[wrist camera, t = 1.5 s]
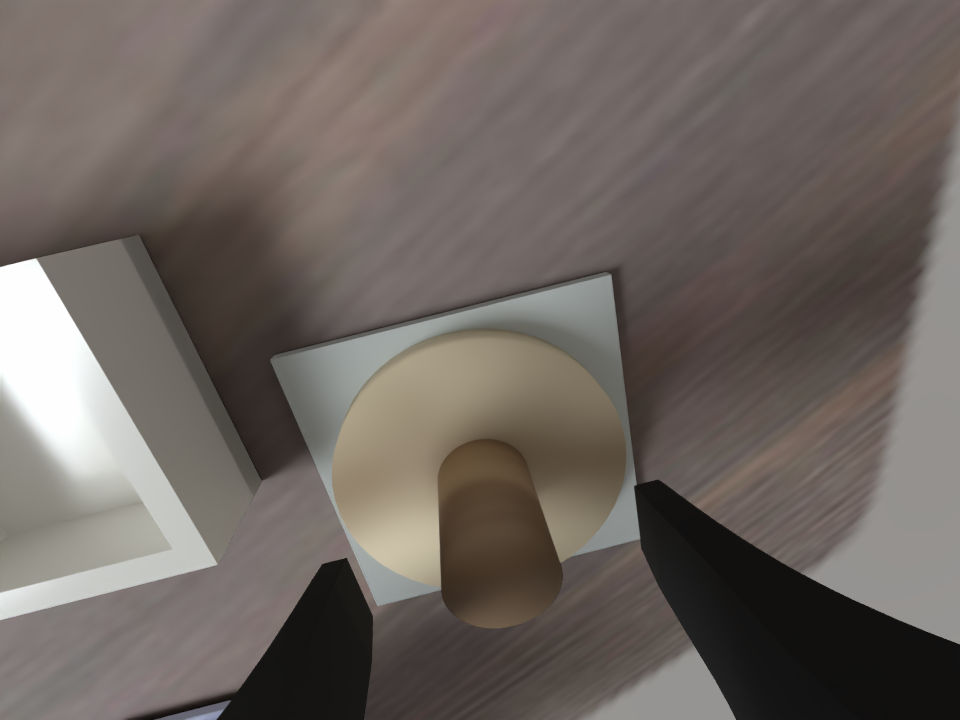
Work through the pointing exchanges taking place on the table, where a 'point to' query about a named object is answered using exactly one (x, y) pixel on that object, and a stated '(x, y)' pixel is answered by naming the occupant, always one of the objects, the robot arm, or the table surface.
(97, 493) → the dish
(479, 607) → the lid
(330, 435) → the mat
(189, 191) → the table surface
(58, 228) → the table surface
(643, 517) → the robot arm
